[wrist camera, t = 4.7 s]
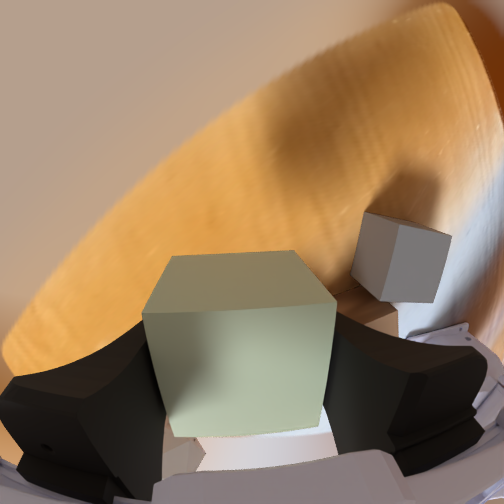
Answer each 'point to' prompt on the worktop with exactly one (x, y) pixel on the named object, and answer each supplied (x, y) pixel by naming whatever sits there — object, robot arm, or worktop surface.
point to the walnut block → (368, 310)
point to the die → (179, 453)
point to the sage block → (240, 343)
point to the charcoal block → (399, 259)
